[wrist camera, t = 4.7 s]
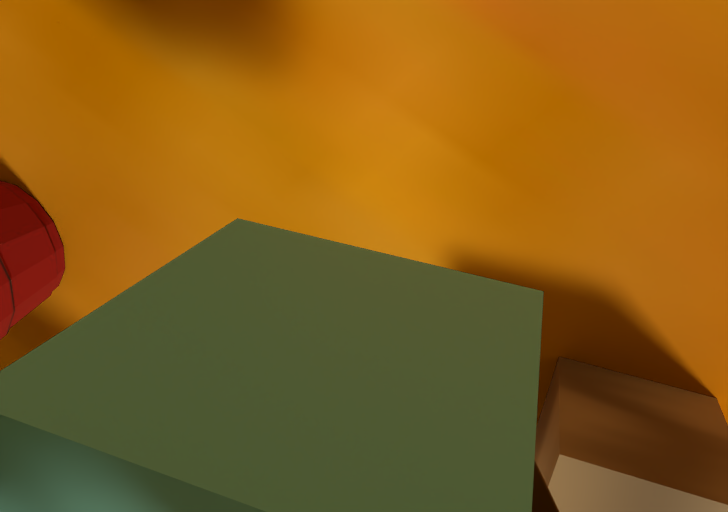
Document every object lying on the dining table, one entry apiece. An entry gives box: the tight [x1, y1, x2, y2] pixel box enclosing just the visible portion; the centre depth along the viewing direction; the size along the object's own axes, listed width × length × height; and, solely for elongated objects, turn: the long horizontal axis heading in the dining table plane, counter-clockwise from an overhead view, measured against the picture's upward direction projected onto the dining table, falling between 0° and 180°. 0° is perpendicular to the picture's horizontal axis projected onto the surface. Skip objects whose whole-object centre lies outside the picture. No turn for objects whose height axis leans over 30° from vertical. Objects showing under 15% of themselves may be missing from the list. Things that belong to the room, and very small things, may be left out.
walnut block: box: [535, 357, 728, 512], centre depth 18 cm, size 5×5×5 cm
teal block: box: [0, 218, 544, 512], centre depth 8 cm, size 5×5×5 cm
